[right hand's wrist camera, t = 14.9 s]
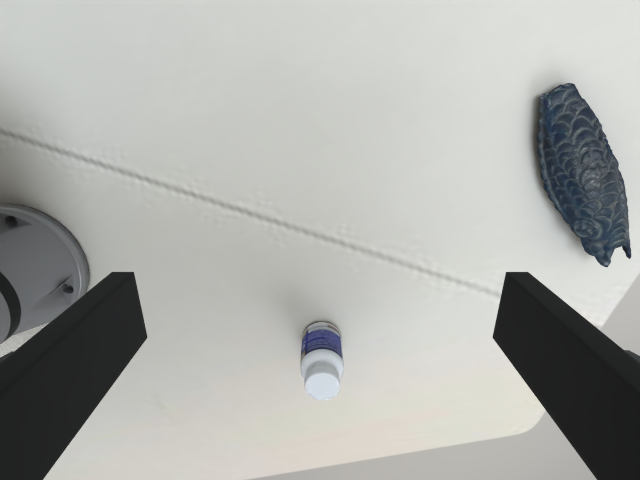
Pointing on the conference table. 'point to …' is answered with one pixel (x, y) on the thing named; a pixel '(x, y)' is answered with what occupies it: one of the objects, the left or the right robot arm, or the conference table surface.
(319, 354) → the pill bottle
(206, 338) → the conference table surface
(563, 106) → the fish model
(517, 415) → the conference table surface
